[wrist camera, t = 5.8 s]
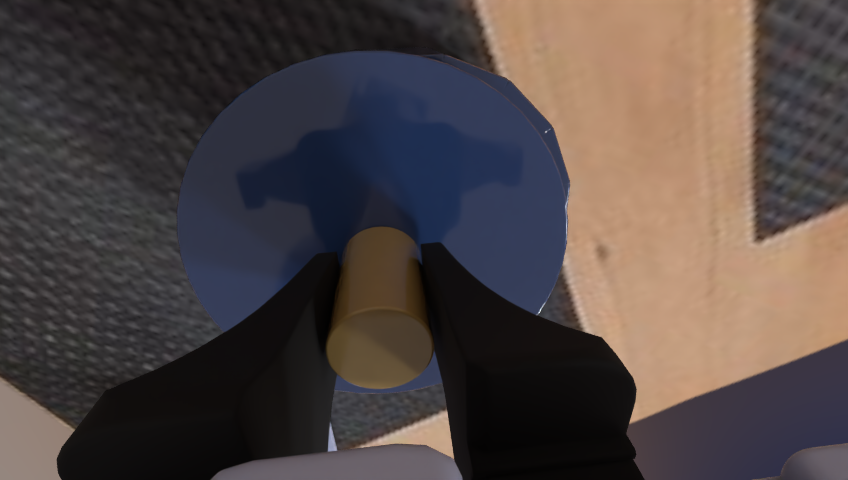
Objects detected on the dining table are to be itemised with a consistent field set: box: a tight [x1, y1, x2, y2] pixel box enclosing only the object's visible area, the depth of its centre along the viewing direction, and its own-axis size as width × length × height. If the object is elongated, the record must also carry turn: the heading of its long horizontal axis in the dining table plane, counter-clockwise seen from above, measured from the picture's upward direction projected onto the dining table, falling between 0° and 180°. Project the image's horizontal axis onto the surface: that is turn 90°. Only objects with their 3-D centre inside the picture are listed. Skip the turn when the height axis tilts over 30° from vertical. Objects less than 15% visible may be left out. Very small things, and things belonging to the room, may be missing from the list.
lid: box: [177, 50, 568, 394], centre depth 12 cm, size 13×13×5 cm
